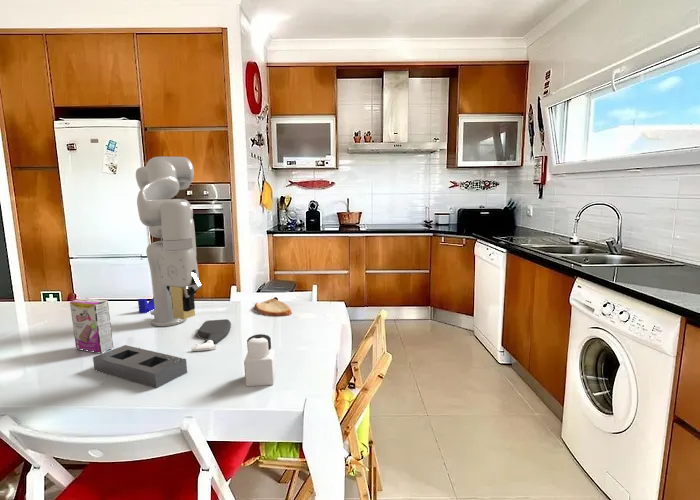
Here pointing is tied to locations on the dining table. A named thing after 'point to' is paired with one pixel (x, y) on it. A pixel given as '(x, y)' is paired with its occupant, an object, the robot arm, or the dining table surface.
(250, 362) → the medicine bottle
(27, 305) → the dining table surface
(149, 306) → the cable clip
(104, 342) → the candy bar box
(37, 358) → the dining table surface
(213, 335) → the spray bottle
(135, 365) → the grey peg hole block
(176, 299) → the brass peg
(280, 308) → the slice of bread
